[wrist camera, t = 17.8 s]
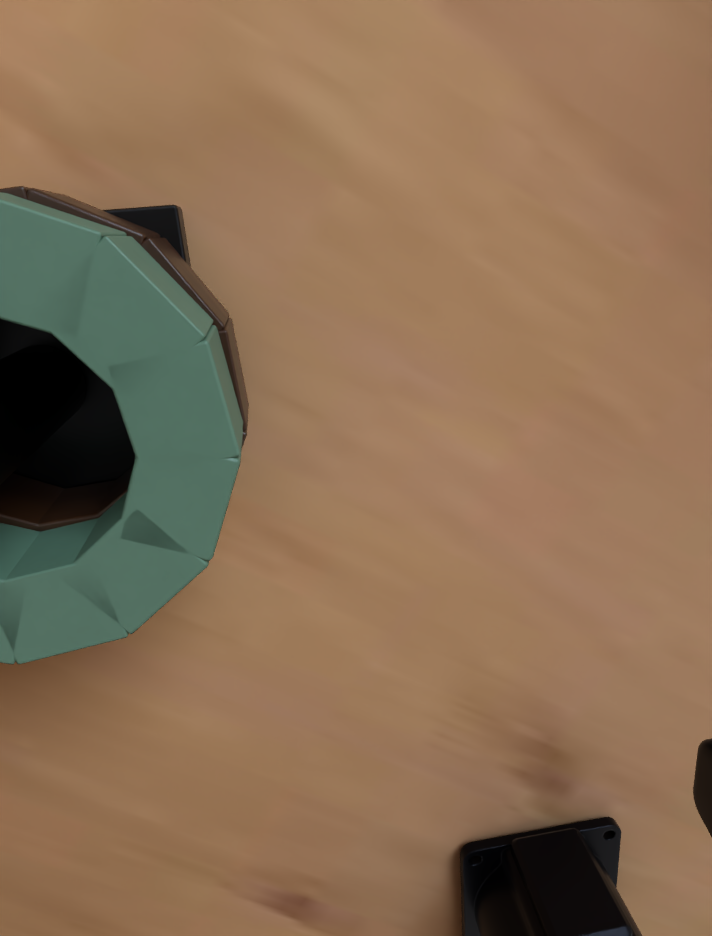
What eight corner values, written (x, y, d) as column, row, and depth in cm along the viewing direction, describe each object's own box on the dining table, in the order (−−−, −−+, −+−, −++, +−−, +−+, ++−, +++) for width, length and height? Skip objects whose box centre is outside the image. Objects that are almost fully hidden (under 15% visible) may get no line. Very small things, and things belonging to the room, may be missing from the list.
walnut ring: (271, 518, 19) (272, 557, 16) (-58, 577, 18) (-103, 626, 16) (203, 173, 15) (193, 163, 13) (-202, 227, 15) (-286, 225, 12)
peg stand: (227, 493, 19) (206, 655, 12) (-55, 528, 18) (-267, 725, 11) (181, 206, 17) (117, 181, 9) (-153, 231, 16) (-525, 227, 8)
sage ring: (278, 549, 16) (281, 599, 14) (-88, 640, 16) (-145, 706, 14) (170, 158, 13) (152, 141, 11) (-297, 254, 13) (-417, 258, 10)
